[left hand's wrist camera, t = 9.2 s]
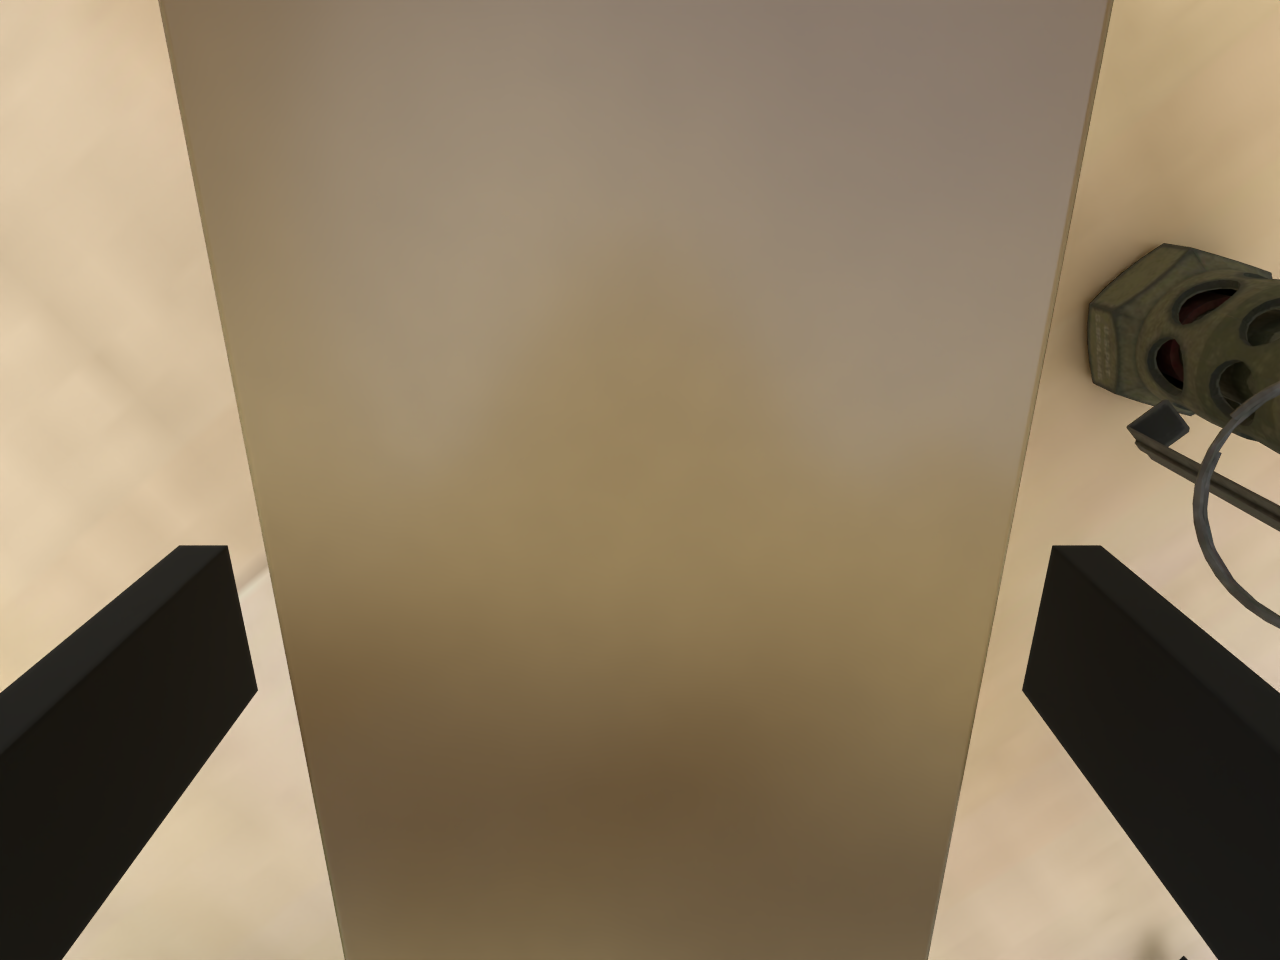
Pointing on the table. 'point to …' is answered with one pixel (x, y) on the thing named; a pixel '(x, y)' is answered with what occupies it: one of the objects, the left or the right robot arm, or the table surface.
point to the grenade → (1195, 370)
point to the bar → (636, 441)
